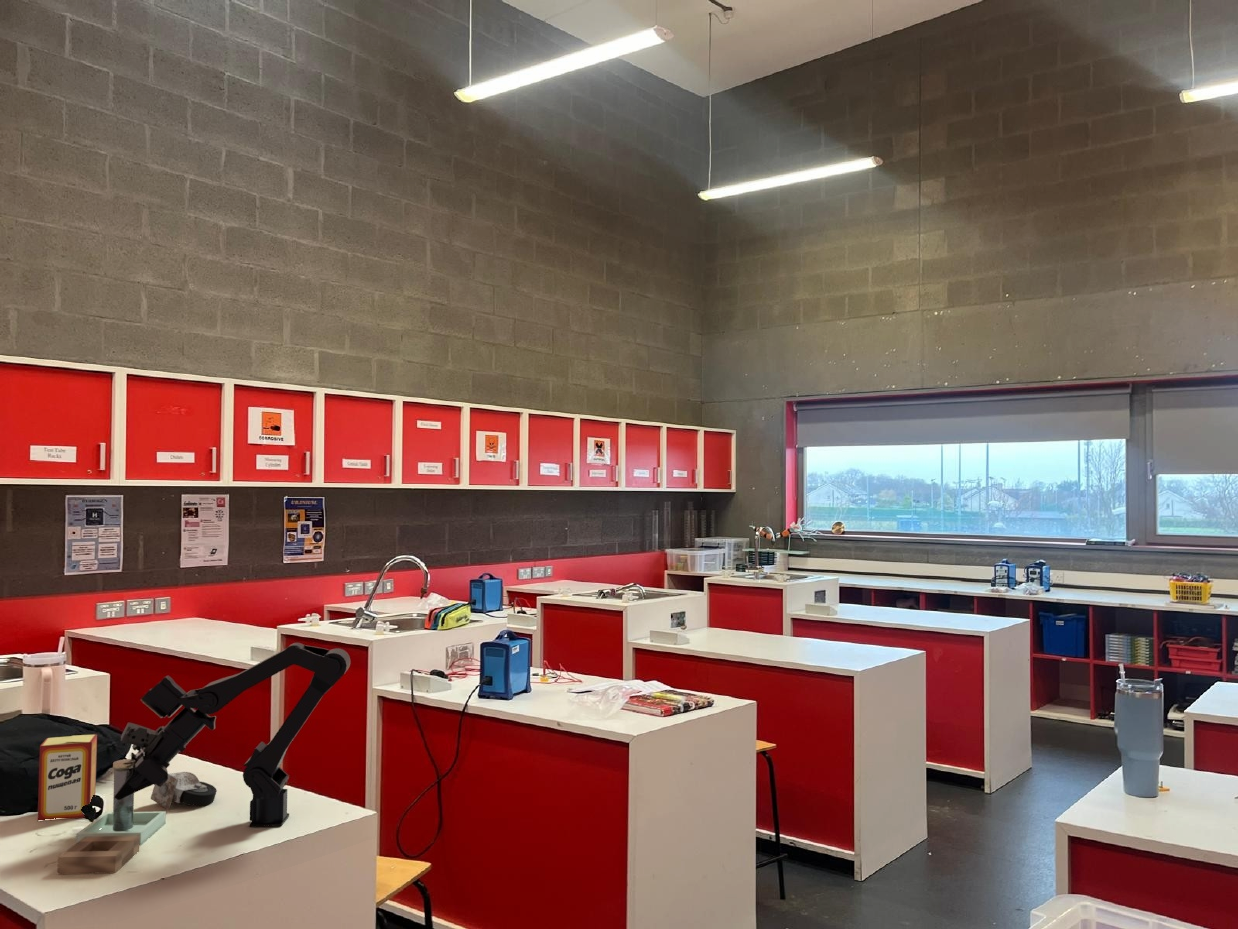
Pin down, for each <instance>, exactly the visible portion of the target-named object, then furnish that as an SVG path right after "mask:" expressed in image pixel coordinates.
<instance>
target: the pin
mask: <svg viewBox="0 0 1238 929" xmlns="http://www.w3.org/2000/svg"><path fill="white" fill-rule="evenodd" d="M133 762H134V763H136V760H134V759H131V758H124V759H119V760H115V761H114V762H113V763H112V769H113V802H112V803H113V804H112V805H113V806H112V810H113V811H112V812H113V830H114V831H125V830H129V829H131V828H133V812H135V811H134V804H135V801H134V800H135V799H134V798H135V793H133V794H131V795H129V796H127V797H125V798H122V799H120V800H117V799H116V798H115V795H116V794H117V792H118V791H119V789H120V788H121V787H122V785H123V784H124V783H125V781H126V780H127V779H128V778H129V776H130V775H131V774H132V763H133Z"/></svg>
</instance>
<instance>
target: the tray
mask: <svg viewBox="0 0 1238 929" xmlns="http://www.w3.org/2000/svg"><path fill="white" fill-rule="evenodd" d="M166 820H167V811H163V810H162V811H133V828H131V829H129V830H125V831H114V830H113V811H112V812H111V811H110V812H108V811H107V812H106V811H105V812H104V813H103V814H102V815H100V816H98V817H97V818H96V819H95V820H92V822H91V823H90V824H88V825H87V826H85V827H84V828H83V829H81V830H79V831H78V832H77V833H76V835H75V836H76V837H75V839H76V840H75V842H76V843H77V842H79V841H80V840H81V839H83V838H84V837H92V836H140V843H139V845H141V846H142V845H143V844H144V843H145V842H147V839H148V838H149V839H150V838H151V837H152V836H153V835H154V834H156V833H157V832H158V831H159V830H160V829H161V828H162V827H164V826H165V825H166V823H167V822H166ZM100 828H102V829H101V830H99V829H100ZM155 832H156V833H155ZM149 839H148V840H149ZM76 843H75V844H76Z"/></svg>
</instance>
